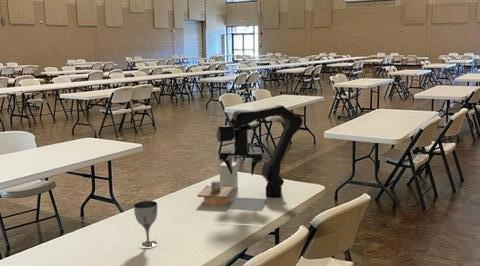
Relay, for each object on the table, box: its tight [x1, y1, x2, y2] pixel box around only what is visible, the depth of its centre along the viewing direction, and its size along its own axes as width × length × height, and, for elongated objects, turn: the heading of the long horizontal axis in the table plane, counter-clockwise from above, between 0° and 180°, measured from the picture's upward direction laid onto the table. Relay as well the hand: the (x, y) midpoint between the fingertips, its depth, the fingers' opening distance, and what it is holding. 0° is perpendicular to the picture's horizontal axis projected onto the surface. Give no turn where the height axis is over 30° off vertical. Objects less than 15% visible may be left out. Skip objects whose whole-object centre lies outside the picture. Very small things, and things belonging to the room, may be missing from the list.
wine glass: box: [133, 200, 158, 247], centre depth 163 cm, size 8×8×15 cm
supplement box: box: [219, 161, 239, 192], centre depth 222 cm, size 7×7×13 cm
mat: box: [226, 196, 269, 212], centre depth 201 cm, size 15×15×1 cm
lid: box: [196, 180, 234, 198], centre depth 204 cm, size 13×13×5 cm
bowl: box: [203, 195, 230, 207], centre depth 205 cm, size 11×11×4 cm
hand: (242, 174), depth 204 cm, fingers open, 9 cm apart
